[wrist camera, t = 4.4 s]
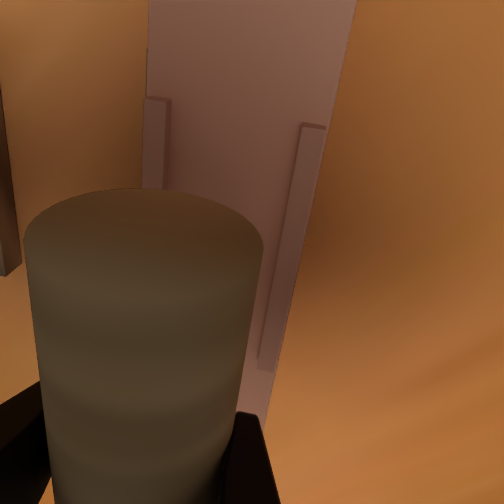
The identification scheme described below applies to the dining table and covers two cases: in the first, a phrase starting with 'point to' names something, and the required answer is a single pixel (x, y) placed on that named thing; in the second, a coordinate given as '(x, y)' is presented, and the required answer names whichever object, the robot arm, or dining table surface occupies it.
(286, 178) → the stop beam
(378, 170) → the dining table surface
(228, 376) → the roller
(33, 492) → the robot arm
